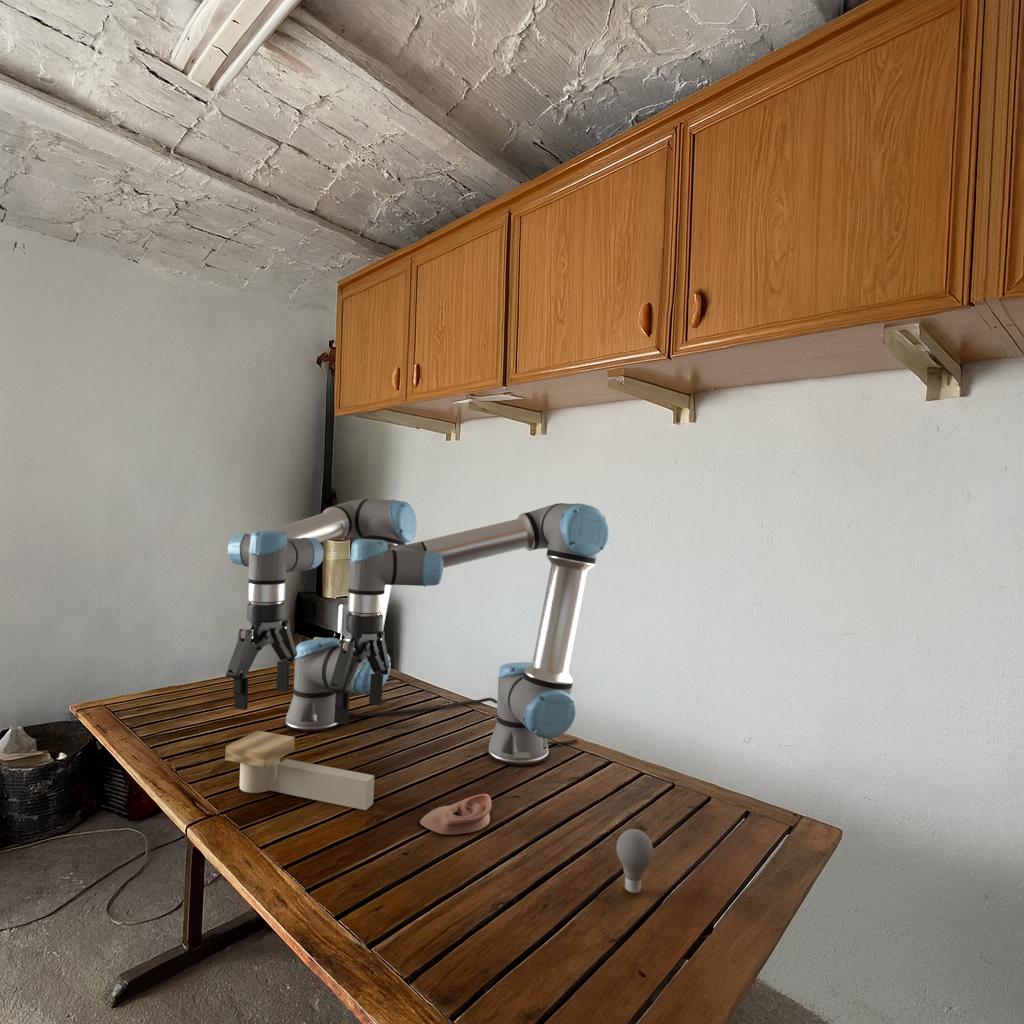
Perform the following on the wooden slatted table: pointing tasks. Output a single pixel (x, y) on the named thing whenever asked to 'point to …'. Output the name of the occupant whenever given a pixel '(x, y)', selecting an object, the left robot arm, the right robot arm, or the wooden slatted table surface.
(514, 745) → the right robot arm
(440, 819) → the anatomical model
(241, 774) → the toy wooden mallet
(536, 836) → the wooden slatted table surface
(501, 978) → the wooden slatted table surface
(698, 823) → the wooden slatted table surface
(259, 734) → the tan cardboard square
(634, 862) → the light bulb
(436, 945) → the wooden slatted table surface
